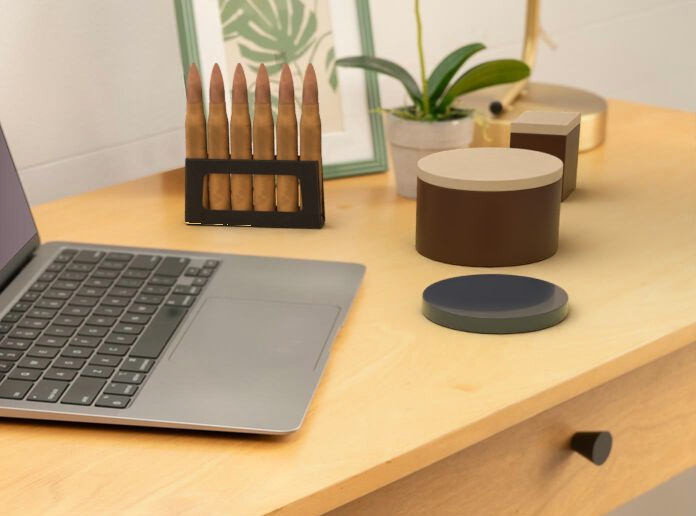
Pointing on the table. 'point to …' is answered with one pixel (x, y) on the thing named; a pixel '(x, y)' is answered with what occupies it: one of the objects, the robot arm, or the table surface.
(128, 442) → the table surface
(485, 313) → the plate
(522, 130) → the cake slice
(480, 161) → the cake
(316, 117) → the ammunition clip
